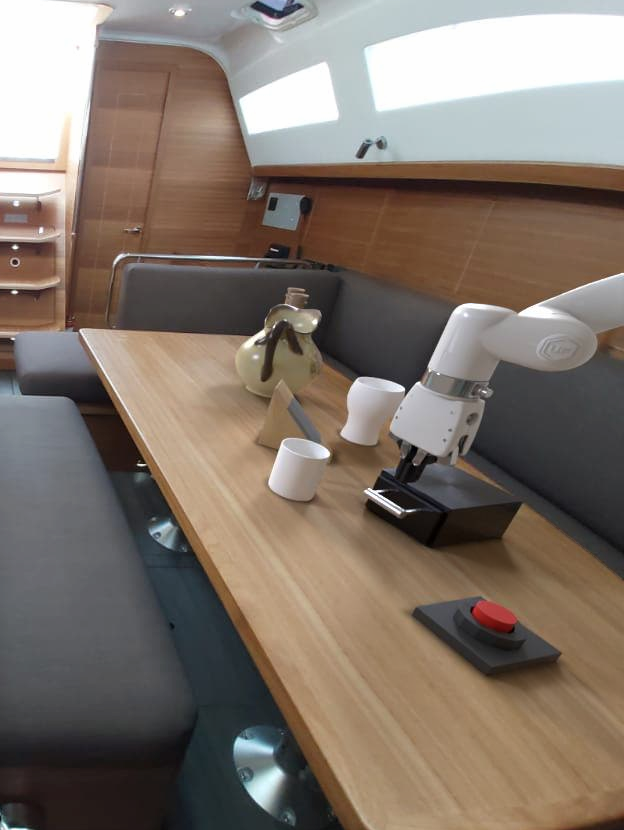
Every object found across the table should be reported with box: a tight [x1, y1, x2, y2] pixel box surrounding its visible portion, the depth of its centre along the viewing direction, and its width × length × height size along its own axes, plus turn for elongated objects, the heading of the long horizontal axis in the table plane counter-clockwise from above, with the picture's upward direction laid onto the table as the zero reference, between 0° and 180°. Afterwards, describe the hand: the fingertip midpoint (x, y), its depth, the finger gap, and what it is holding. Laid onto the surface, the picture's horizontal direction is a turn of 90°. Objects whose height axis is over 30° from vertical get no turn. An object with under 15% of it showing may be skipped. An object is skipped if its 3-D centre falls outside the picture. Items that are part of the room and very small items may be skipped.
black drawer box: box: [379, 463, 525, 549], centre depth 92 cm, size 16×13×9 cm
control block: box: [411, 595, 563, 677], centre depth 69 cm, size 12×10×4 cm
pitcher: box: [234, 303, 323, 399], centre depth 145 cm, size 22×24×25 cm
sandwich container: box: [257, 379, 333, 465], centre depth 115 cm, size 9×15×15 cm, turn 52°
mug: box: [268, 438, 330, 502], centre depth 101 cm, size 12×8×10 cm
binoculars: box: [284, 287, 310, 309], centre depth 172 cm, size 21×10×25 cm, turn 155°
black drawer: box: [363, 475, 446, 546], centre depth 91 cm, size 20×12×7 cm, turn 102°
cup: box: [339, 376, 406, 446], centre depth 121 cm, size 11×11×15 cm
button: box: [472, 600, 518, 633], centre depth 67 cm, size 4×4×2 cm
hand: (404, 480), depth 87 cm, fingers closed
